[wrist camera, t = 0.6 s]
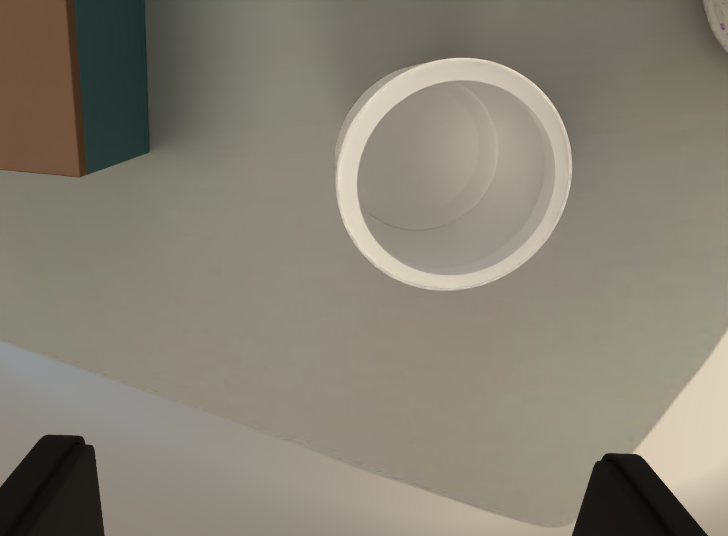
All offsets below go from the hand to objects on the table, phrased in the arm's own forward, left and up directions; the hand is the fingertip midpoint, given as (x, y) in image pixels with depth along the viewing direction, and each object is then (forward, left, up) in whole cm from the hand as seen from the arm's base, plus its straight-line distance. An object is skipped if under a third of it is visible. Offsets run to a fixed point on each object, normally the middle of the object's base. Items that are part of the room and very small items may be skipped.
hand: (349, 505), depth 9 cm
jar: (-4, +5, -29) cm, 30 cm away
